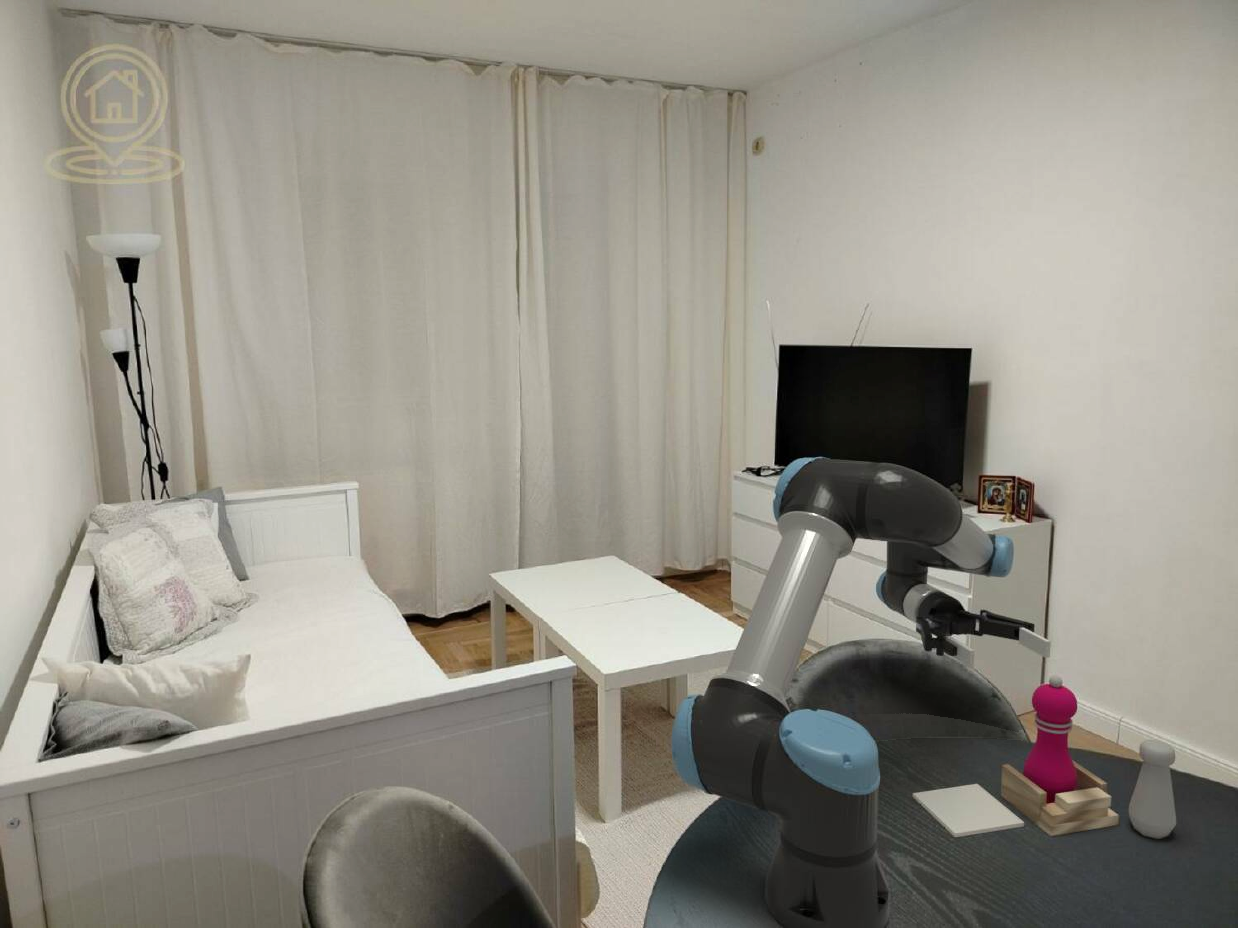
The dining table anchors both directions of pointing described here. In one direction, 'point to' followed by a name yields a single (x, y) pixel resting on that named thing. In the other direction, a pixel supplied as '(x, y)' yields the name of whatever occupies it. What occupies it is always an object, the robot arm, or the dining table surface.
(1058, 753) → the pepper mill
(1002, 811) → the mat
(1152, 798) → the salt shaker
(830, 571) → the robot arm
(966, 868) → the dining table surface
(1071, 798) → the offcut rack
